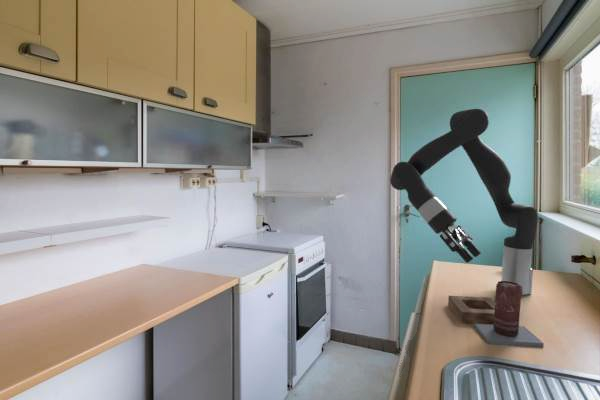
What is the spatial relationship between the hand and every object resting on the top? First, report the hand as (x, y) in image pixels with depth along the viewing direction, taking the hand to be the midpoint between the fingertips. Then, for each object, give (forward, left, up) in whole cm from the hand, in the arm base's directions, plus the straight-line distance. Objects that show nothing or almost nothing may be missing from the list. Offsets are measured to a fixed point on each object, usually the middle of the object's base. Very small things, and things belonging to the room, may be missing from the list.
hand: (474, 258), depth 105 cm
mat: (-8, +5, -21) cm, 23 cm away
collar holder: (-5, -9, -21) cm, 23 cm away
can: (-8, +5, -20) cm, 22 cm away
